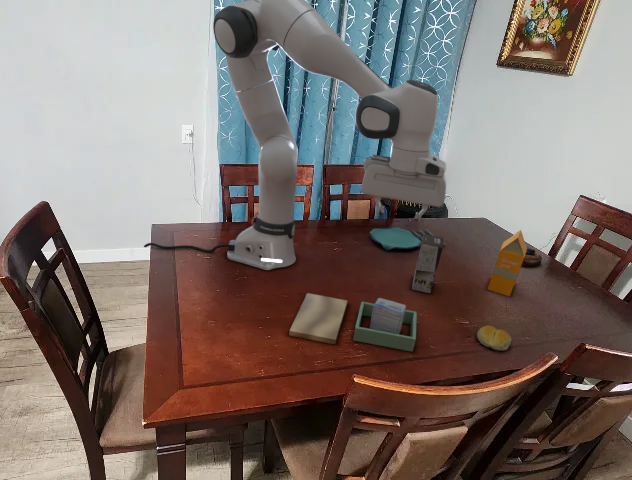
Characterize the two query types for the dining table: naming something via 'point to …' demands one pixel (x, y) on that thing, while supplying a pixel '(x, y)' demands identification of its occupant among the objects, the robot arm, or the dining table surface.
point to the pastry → (531, 258)
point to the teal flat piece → (397, 238)
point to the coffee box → (427, 263)
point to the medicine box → (387, 316)
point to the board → (319, 318)
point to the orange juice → (508, 264)
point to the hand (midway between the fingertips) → (398, 217)
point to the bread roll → (494, 338)
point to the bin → (385, 337)
